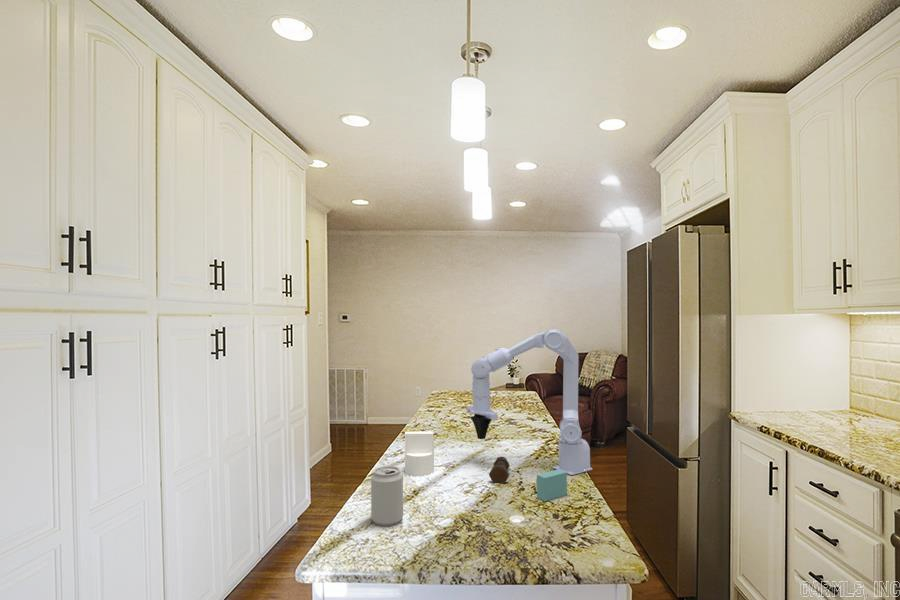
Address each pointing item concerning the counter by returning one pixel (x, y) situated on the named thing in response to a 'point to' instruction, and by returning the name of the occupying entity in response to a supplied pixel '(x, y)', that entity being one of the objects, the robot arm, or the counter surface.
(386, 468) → the can
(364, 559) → the counter surface
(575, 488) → the counter surface
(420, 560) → the counter surface
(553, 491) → the teal rectangular block
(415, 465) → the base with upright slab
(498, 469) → the bolt
